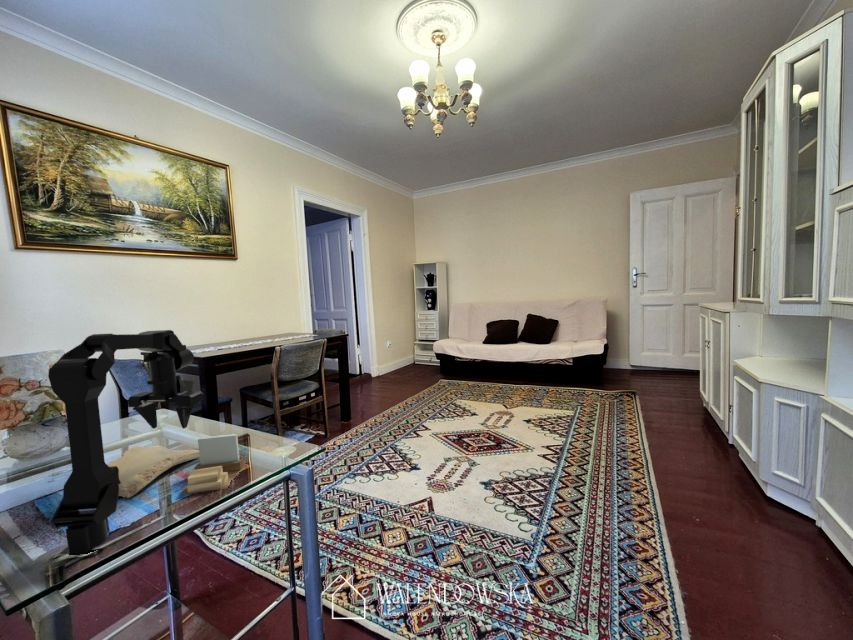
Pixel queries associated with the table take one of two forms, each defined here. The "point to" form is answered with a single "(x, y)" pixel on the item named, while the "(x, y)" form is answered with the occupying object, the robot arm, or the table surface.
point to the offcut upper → (205, 475)
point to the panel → (218, 449)
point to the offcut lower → (209, 484)
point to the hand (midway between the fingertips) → (169, 427)
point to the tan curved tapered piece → (147, 466)
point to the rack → (228, 467)
